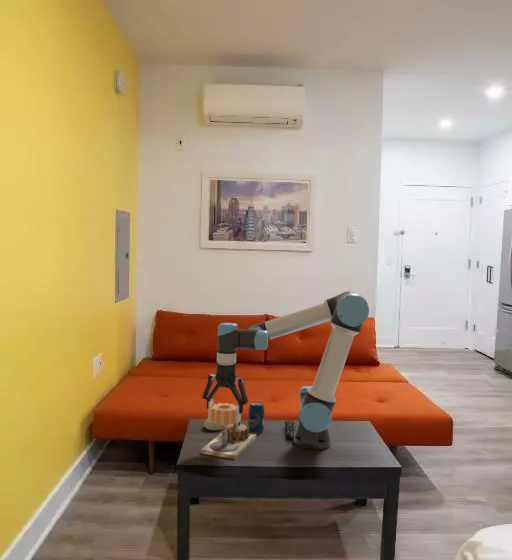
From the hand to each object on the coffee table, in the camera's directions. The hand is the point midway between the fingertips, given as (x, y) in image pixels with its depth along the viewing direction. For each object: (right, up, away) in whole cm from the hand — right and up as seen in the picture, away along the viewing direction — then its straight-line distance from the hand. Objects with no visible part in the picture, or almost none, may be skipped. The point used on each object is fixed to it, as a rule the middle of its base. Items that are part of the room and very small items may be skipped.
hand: (224, 419), depth 192 cm
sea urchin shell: (-6, -11, +26) cm, 29 cm away
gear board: (+2, -12, +6) cm, 14 cm away
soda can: (+12, -12, +24) cm, 29 cm away
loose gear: (0, 0, 0) cm, 0 cm away
